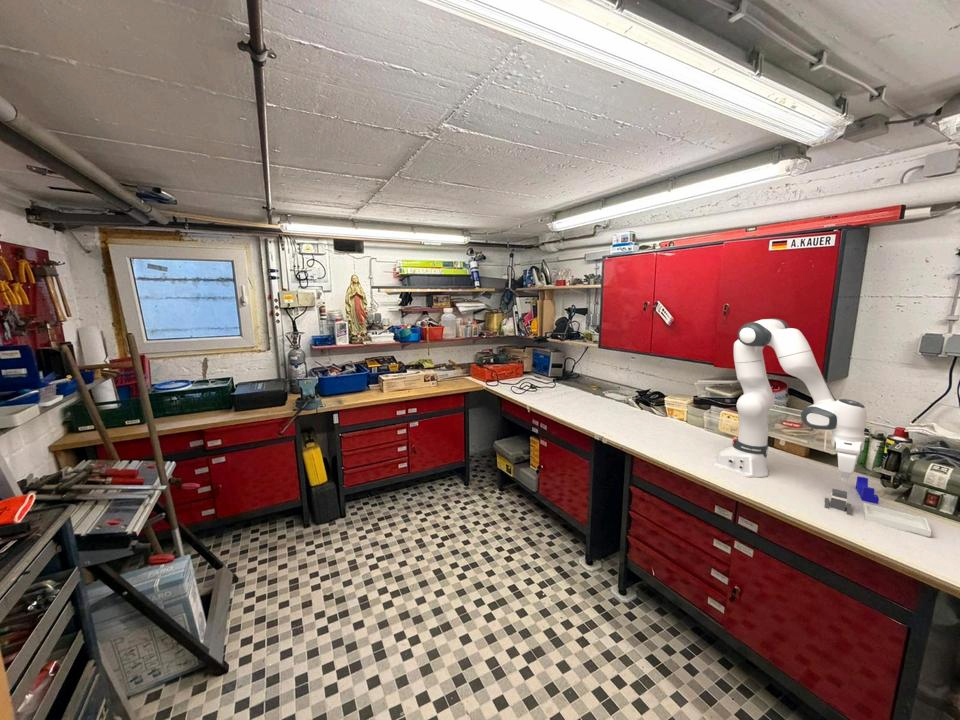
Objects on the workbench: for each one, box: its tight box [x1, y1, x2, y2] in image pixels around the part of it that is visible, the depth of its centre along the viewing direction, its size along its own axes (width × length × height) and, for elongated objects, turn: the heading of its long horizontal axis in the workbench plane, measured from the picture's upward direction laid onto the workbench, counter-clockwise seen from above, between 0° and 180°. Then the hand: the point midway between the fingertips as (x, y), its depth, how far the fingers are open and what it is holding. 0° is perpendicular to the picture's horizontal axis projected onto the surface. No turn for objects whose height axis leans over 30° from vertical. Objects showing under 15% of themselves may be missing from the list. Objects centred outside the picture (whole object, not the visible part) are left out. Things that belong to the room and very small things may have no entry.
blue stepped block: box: [855, 475, 880, 505], centre depth 150 cm, size 12×4×6 cm, turn 143°
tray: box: [862, 502, 932, 539], centre depth 133 cm, size 16×10×2 cm, turn 46°
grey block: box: [829, 488, 848, 512], centre depth 142 cm, size 4×4×7 cm
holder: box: [824, 497, 853, 516], centre depth 142 cm, size 7×8×2 cm
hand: (844, 476), depth 140 cm, fingers open, 8 cm apart
